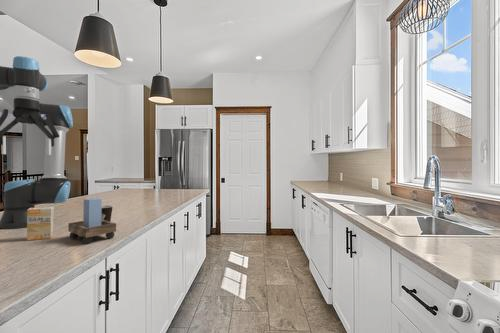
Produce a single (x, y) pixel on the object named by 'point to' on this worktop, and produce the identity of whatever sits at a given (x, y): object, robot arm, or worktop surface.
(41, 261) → the worktop surface
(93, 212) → the slate post
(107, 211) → the coffee mug
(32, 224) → the supplement box
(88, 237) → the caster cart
